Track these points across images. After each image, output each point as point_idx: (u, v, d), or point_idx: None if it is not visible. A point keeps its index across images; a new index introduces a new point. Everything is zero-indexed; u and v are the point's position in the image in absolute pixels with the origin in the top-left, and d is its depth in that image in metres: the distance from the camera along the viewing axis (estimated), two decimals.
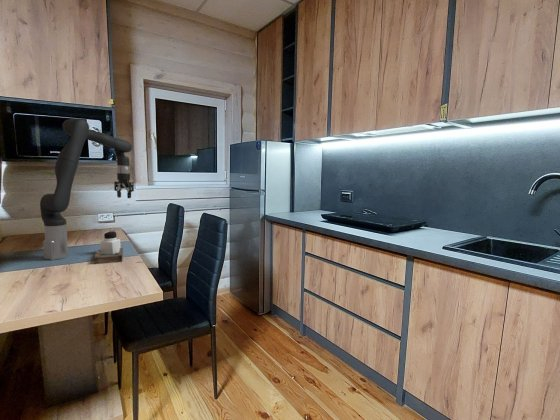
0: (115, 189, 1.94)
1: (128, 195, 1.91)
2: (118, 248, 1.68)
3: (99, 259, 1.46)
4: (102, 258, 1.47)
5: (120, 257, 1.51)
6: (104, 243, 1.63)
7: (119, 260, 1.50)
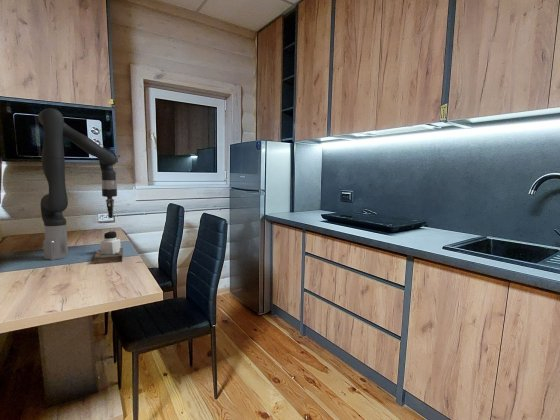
0: None
1: (108, 215, 1.72)
2: (118, 248, 1.68)
3: (99, 259, 1.46)
4: (102, 258, 1.47)
5: (120, 257, 1.51)
6: (104, 243, 1.63)
7: (119, 260, 1.50)
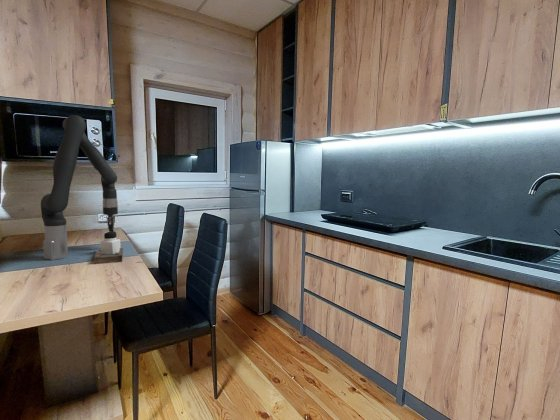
0: None
1: None
2: (118, 248, 1.68)
3: (99, 259, 1.46)
4: (102, 258, 1.47)
5: (120, 257, 1.51)
6: (104, 243, 1.63)
7: (119, 260, 1.50)
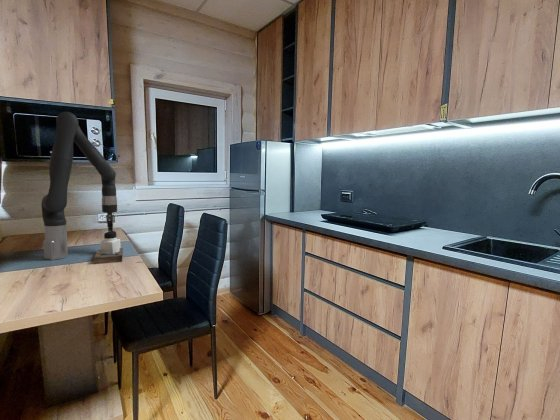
0: None
1: None
2: (118, 248, 1.68)
3: (99, 259, 1.46)
4: (102, 258, 1.47)
5: (120, 257, 1.51)
6: (104, 243, 1.62)
7: (119, 260, 1.50)
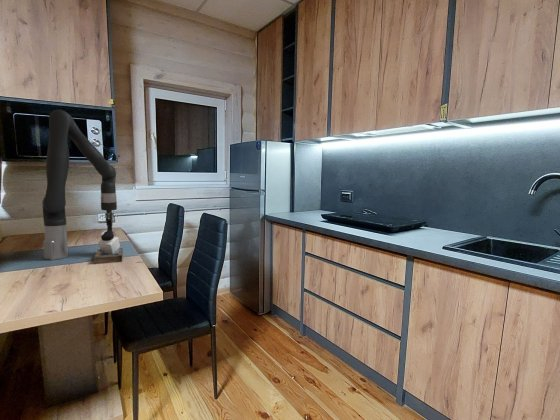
0: None
1: (107, 229, 1.63)
2: (117, 245, 1.66)
3: (99, 259, 1.46)
4: (102, 258, 1.47)
5: (120, 257, 1.51)
6: (102, 244, 1.60)
7: (119, 260, 1.50)
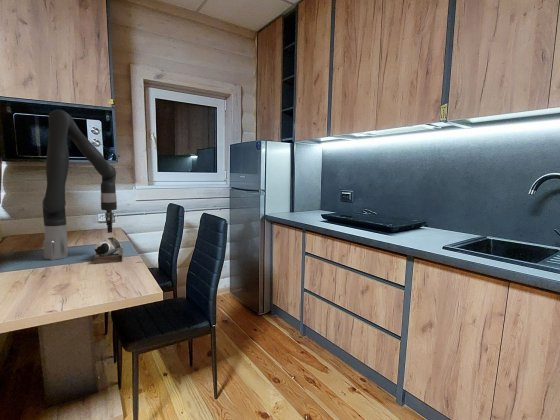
0: None
1: (107, 229, 1.63)
2: (116, 249, 1.61)
3: (99, 259, 1.46)
4: (102, 258, 1.47)
5: (120, 257, 1.51)
6: None
7: (119, 260, 1.50)
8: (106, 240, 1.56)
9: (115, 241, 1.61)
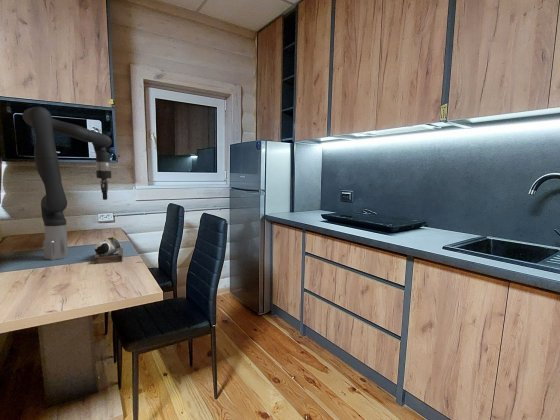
0: None
1: (103, 196, 1.73)
2: (116, 249, 1.61)
3: (99, 259, 1.46)
4: (102, 258, 1.47)
5: (120, 257, 1.51)
6: None
7: (119, 260, 1.50)
8: (106, 240, 1.56)
9: (115, 241, 1.61)
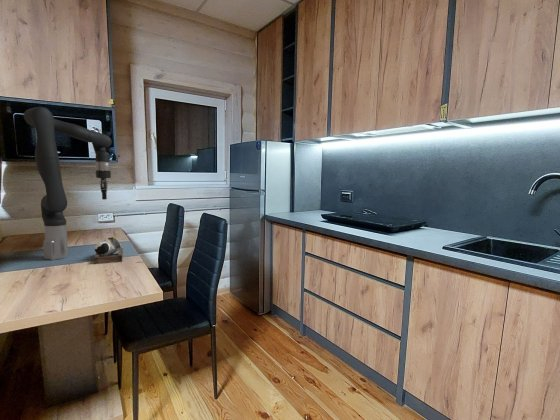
0: None
1: (102, 196, 1.74)
2: (116, 249, 1.61)
3: (99, 259, 1.46)
4: (102, 258, 1.47)
5: (120, 257, 1.51)
6: None
7: (119, 260, 1.50)
8: (106, 240, 1.56)
9: (115, 241, 1.61)
